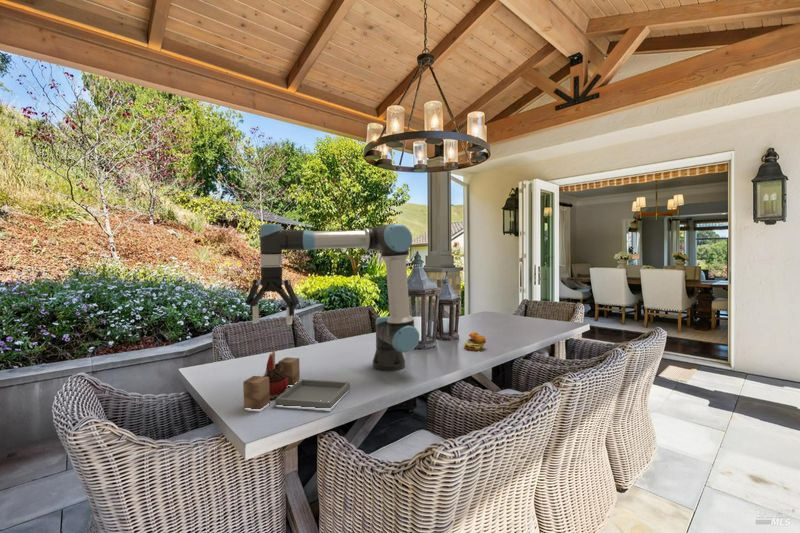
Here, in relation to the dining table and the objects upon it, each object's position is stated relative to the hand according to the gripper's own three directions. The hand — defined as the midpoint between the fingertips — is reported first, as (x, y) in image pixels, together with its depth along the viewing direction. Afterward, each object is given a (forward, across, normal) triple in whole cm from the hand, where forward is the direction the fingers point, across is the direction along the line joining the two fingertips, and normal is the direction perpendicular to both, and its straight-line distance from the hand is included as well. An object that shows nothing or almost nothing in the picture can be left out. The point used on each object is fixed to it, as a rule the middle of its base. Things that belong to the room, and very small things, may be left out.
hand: (272, 323), depth 141 cm
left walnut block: (+27, 0, +11) cm, 29 cm away
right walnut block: (+27, 0, -12) cm, 29 cm away
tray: (+27, -16, 0) cm, 31 cm away
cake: (+27, 0, 0) cm, 27 cm away
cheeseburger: (+26, -73, -79) cm, 111 cm away
